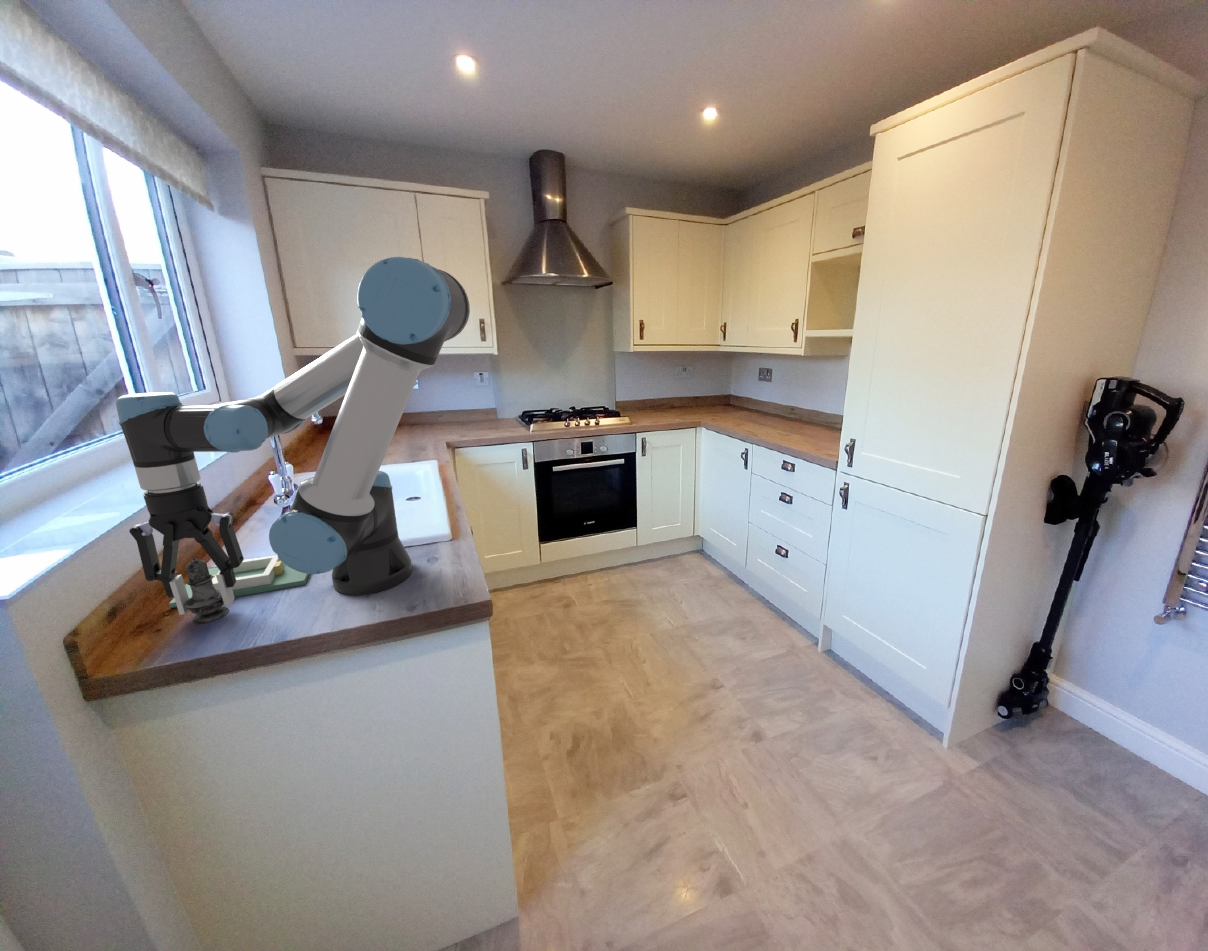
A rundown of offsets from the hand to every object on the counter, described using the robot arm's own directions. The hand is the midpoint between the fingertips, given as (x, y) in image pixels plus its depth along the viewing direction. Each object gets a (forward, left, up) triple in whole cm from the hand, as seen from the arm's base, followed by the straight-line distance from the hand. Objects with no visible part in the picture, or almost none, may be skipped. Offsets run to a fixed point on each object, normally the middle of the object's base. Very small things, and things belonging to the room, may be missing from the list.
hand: (208, 606), depth 84 cm
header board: (-3, -13, -2) cm, 13 cm away
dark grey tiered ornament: (0, 0, -2) cm, 2 cm away
